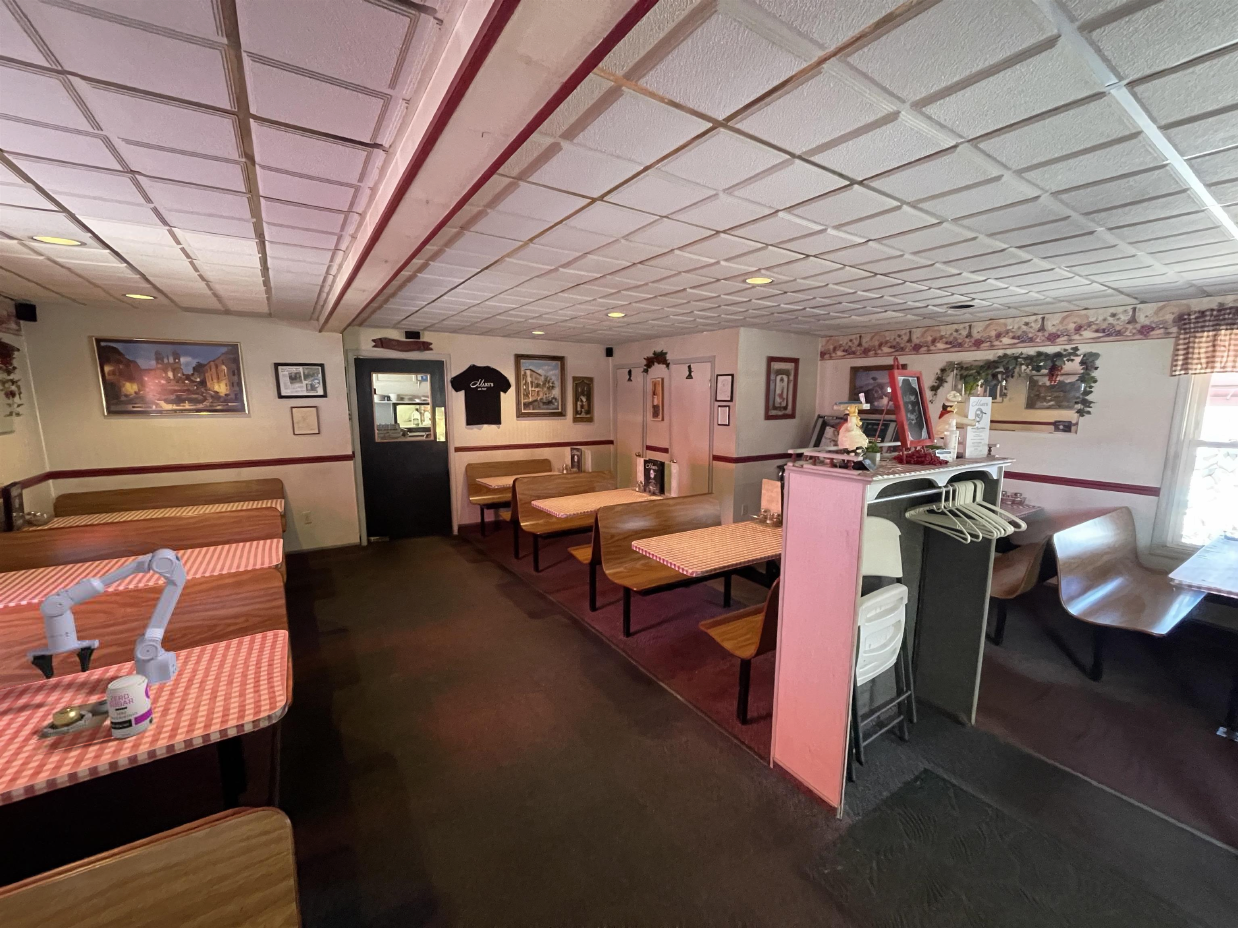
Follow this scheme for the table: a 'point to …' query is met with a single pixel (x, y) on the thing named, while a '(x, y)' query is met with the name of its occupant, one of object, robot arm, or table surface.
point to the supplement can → (129, 706)
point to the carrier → (90, 718)
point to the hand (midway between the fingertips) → (68, 674)
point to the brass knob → (66, 717)
